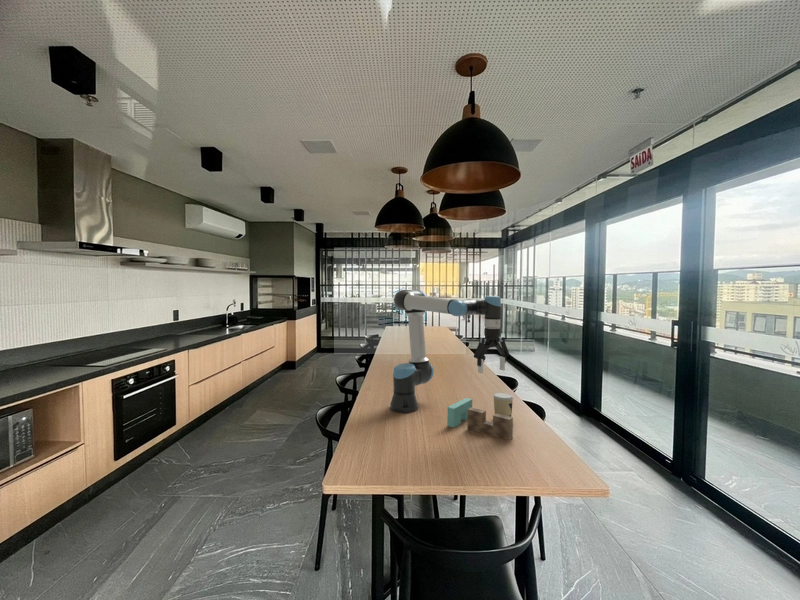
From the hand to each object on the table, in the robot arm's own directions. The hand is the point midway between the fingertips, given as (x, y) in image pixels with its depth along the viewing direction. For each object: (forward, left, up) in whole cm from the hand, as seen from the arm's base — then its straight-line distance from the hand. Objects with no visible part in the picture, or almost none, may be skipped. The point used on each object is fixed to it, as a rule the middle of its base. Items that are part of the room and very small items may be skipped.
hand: (491, 371), depth 165 cm
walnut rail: (+5, -13, -25) cm, 28 cm away
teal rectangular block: (-12, -9, -25) cm, 29 cm away
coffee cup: (+3, +7, -25) cm, 26 cm away
